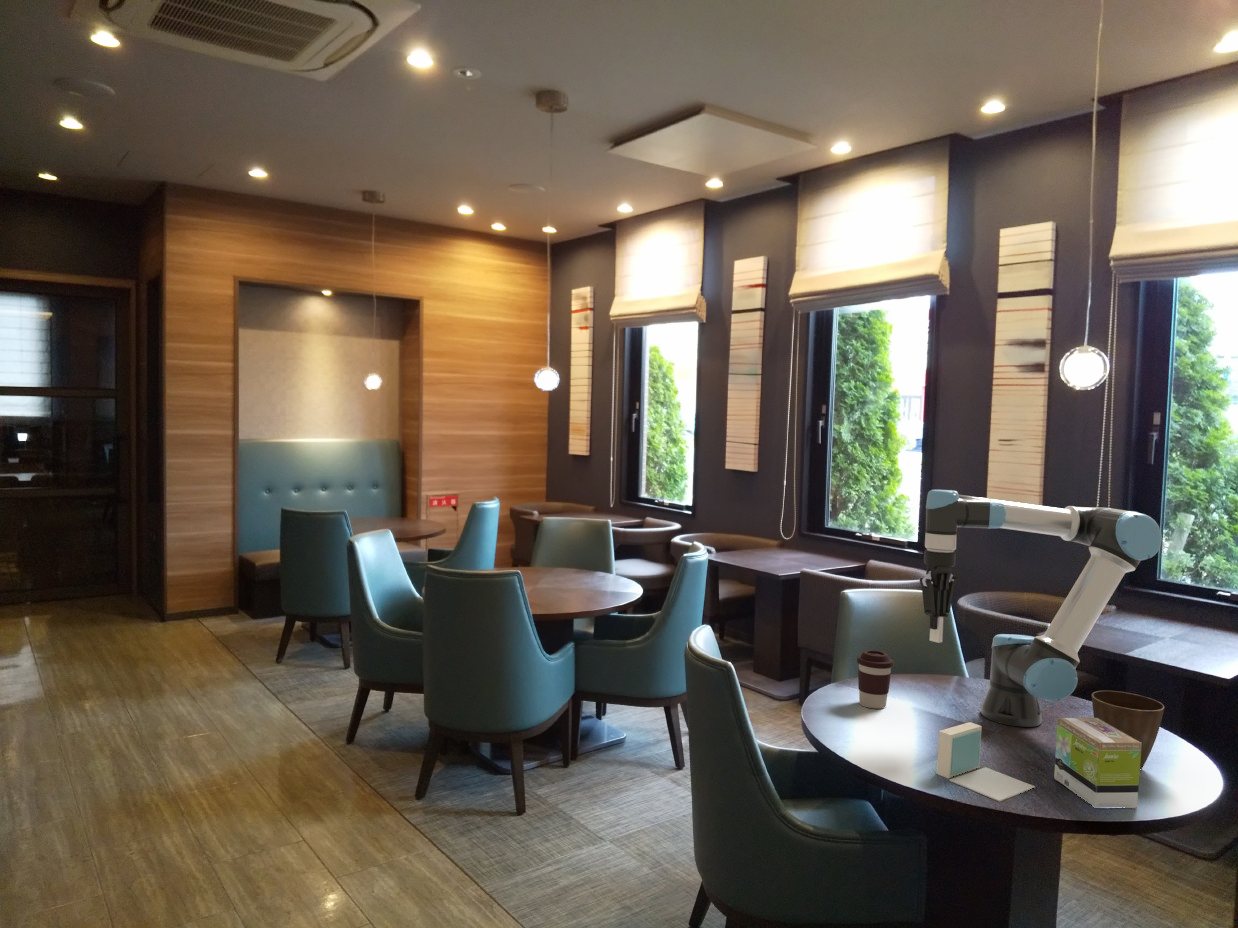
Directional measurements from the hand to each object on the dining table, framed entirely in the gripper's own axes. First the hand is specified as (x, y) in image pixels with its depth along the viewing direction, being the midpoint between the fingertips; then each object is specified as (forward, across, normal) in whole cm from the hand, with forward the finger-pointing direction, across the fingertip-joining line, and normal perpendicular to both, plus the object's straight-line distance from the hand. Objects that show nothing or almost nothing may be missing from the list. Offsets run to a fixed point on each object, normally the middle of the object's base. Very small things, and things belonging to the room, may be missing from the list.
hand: (935, 641), depth 217 cm
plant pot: (+25, -24, +36) cm, 50 cm away
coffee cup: (+24, -5, -23) cm, 34 cm away
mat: (+25, +15, +26) cm, 39 cm away
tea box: (+25, -1, +40) cm, 48 cm away
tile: (+25, +15, +17) cm, 34 cm away
